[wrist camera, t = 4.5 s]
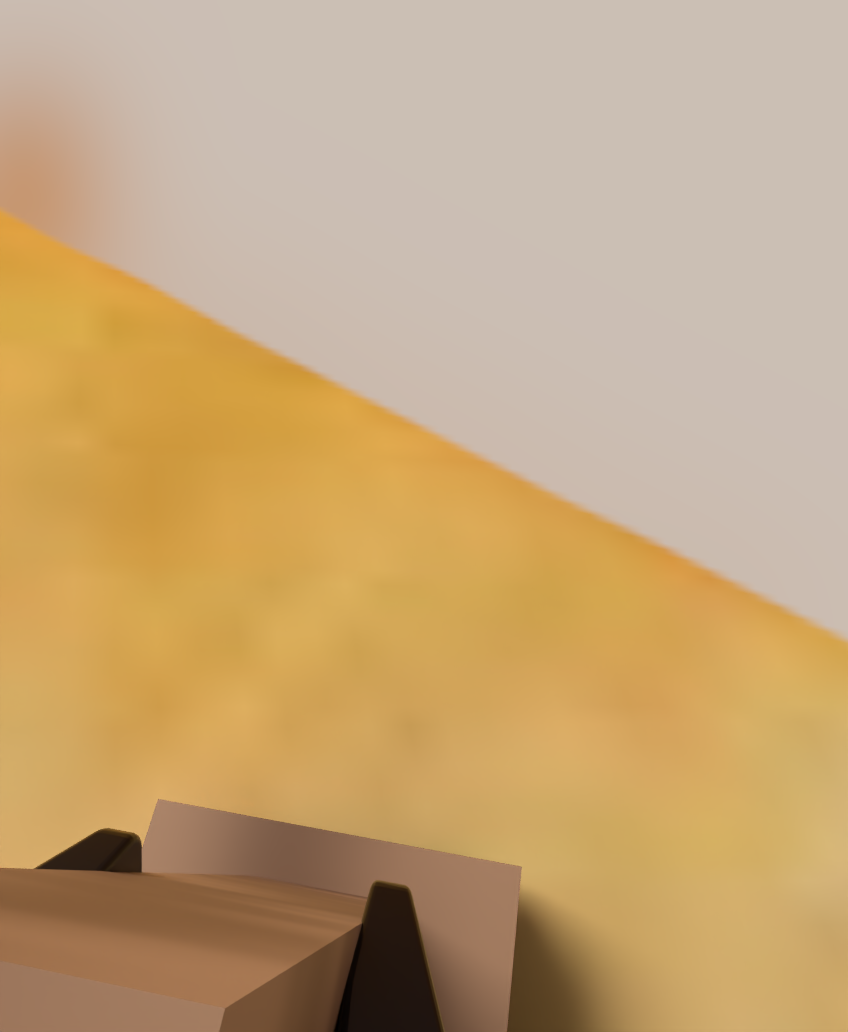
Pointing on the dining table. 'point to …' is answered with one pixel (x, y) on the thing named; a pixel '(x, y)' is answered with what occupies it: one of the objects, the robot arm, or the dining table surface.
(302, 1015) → the newel post
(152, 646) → the dining table surface
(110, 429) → the dining table surface
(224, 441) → the dining table surface
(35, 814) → the dining table surface
